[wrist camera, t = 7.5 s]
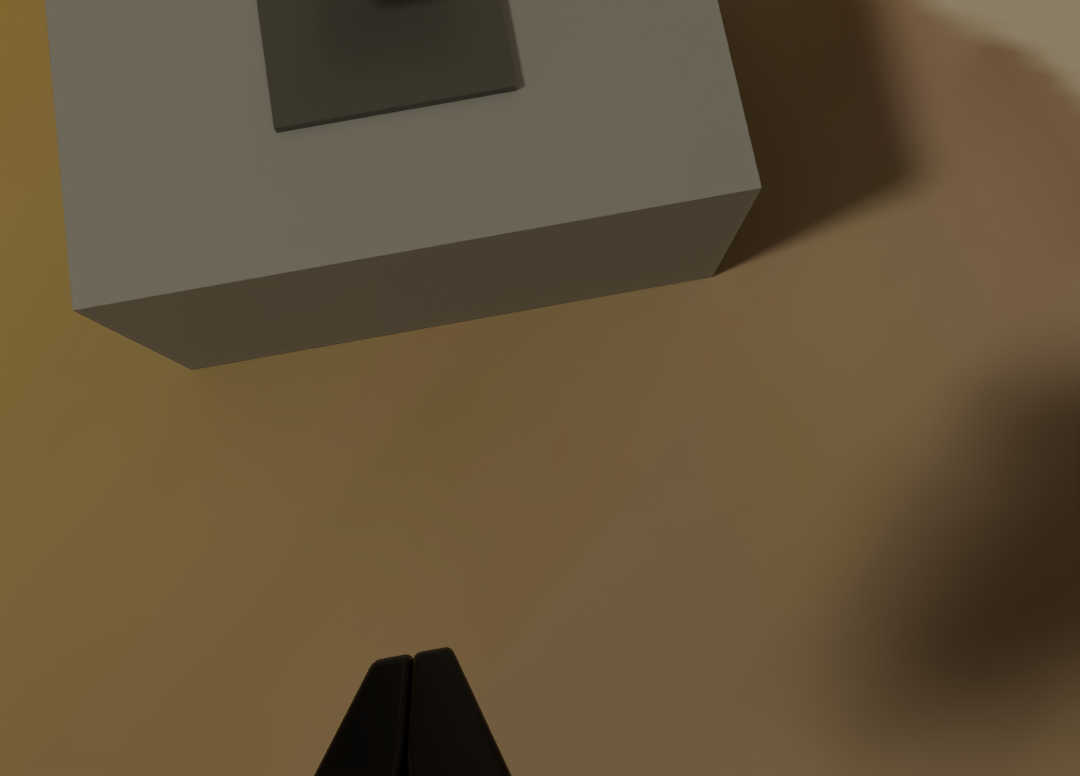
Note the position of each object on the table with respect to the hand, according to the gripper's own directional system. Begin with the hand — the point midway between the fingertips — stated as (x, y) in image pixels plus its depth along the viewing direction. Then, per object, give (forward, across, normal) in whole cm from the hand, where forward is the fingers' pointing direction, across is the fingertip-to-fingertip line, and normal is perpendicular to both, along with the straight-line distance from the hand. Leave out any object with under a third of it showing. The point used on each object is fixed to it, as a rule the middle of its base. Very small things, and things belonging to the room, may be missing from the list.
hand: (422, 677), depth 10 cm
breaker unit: (+18, 0, +1) cm, 18 cm away
